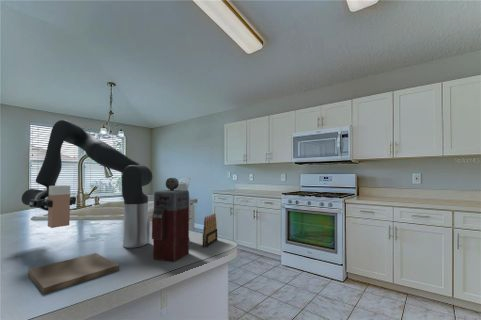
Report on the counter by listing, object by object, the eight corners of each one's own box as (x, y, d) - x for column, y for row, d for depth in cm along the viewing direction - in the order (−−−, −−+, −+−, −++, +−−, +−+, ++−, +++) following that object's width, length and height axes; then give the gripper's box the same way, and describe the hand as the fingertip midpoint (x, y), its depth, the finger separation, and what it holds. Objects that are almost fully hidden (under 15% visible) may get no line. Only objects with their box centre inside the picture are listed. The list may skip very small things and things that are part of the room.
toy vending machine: (148, 261, 78) (149, 178, 80) (168, 250, 88) (169, 177, 90) (170, 264, 75) (171, 178, 77) (189, 253, 85) (189, 177, 87)
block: (64, 223, 85) (66, 185, 86) (69, 225, 82) (70, 185, 83) (47, 226, 81) (48, 186, 82) (51, 228, 78) (52, 186, 79)
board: (95, 257, 82) (95, 252, 82) (118, 269, 71) (119, 264, 71) (28, 274, 68) (28, 269, 68) (43, 294, 57) (43, 287, 57)
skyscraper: (184, 238, 106) (184, 177, 108) (194, 242, 100) (194, 177, 102) (167, 242, 100) (168, 177, 102) (176, 246, 94) (177, 178, 96)
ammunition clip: (213, 239, 103) (213, 212, 103) (217, 240, 102) (217, 212, 103) (202, 247, 93) (202, 216, 93) (206, 247, 92) (206, 217, 93)
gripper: (24, 192, 85) (34, 194, 75) (70, 189, 96) (85, 190, 86) (23, 212, 85) (33, 217, 74) (70, 207, 96) (85, 211, 86)
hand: (61, 203), depth 80 cm, fingers closed on block, 5 cm apart
